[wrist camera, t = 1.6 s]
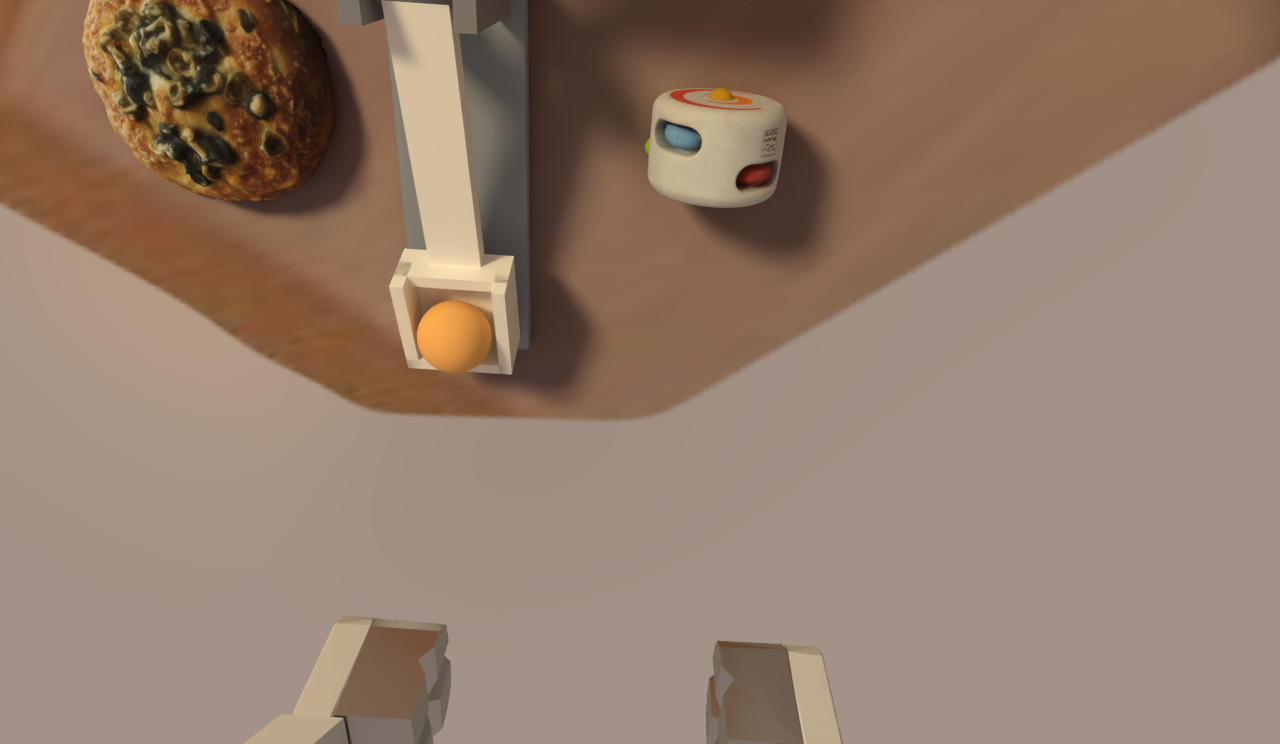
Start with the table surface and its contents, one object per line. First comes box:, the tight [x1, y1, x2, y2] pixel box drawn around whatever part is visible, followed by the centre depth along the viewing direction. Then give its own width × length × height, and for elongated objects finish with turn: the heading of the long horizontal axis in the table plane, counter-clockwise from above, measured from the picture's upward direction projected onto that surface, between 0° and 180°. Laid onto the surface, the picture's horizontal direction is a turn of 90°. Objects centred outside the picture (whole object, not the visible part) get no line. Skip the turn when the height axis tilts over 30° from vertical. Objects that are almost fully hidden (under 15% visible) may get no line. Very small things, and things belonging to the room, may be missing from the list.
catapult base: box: [336, 0, 531, 350], centre depth 33 cm, size 20×6×8 cm, turn 176°
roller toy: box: [645, 88, 787, 208], centre depth 33 cm, size 4×6×6 cm
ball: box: [417, 300, 492, 373], centre depth 37 cm, size 4×4×4 cm
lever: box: [376, 0, 520, 375], centre depth 30 cm, size 26×13×3 cm, turn 176°
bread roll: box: [82, 0, 335, 202], centre depth 34 cm, size 11×11×5 cm
